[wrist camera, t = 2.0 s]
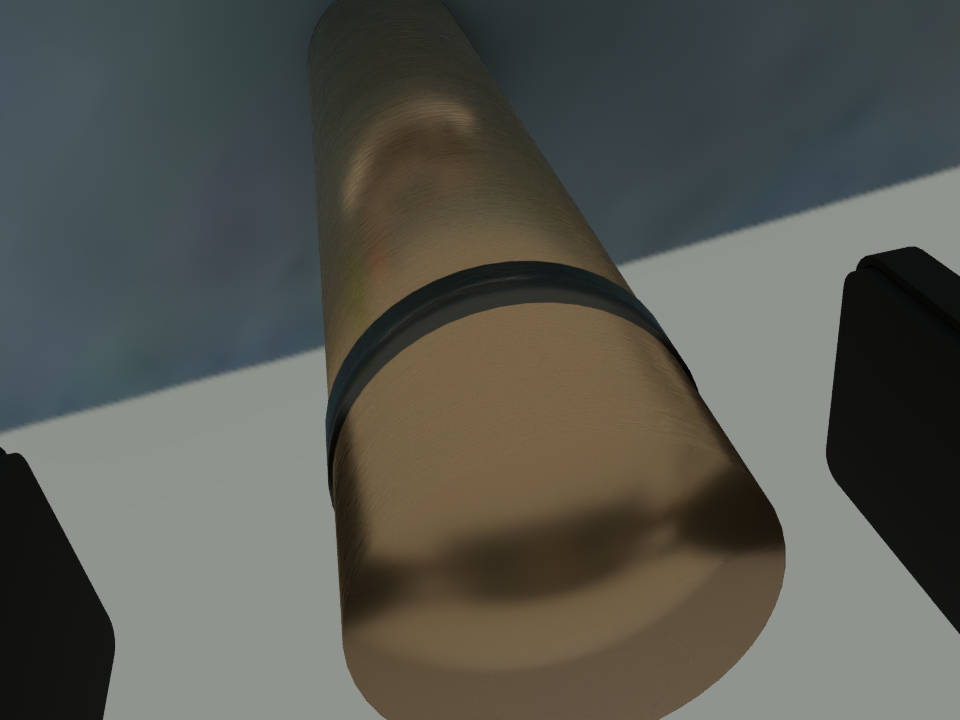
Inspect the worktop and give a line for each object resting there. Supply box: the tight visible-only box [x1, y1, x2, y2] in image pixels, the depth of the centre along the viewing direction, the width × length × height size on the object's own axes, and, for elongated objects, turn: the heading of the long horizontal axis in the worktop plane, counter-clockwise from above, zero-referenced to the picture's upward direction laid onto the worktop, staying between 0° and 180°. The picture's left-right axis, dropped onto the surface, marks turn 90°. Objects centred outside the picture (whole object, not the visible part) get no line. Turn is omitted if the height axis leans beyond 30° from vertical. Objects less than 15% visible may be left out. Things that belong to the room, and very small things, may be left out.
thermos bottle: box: [308, 0, 785, 720], centre depth 15 cm, size 4×4×18 cm
